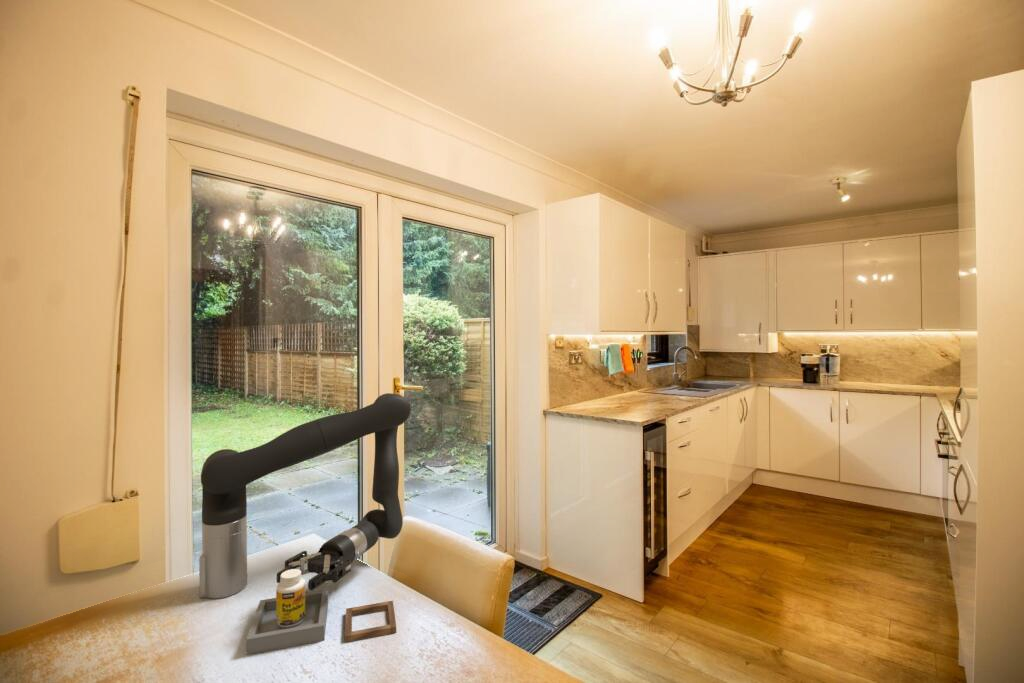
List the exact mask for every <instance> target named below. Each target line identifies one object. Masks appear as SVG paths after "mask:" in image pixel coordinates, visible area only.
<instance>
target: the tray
mask: <svg viewBox="0 0 1024 683" xmlns="http://www.w3.org/2000/svg"><path fill="white" fill-rule="evenodd" d="M328 608H329V589H323V590H317V591H311V592H305V618H304V620H303V621H302V622H301V623H299V624H298V625H296V626H293V627H289V628H282V627H280V626H278V625H277V622H276V597H273V598H267V599H261V600H259V603H258V605H257V609H256V611H255V614H254V616H253V619H252V622H251V625H250V627H249V631H248V633H247V636H246V639H245V655H246V656H248V655H253V654H258V653H263V652H270V651H273V650H280V649H285V648H290V647H291V648H292V647H295V646H301V645H300V644H302V645H306V643H307V644H311V643H316V642H322V641H323V642H324V641H325V638H326V628H327V627H326V626H327V618H328Z"/></svg>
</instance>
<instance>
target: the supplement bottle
mask: <svg viewBox="0 0 1024 683" xmlns="http://www.w3.org/2000/svg"><path fill="white" fill-rule="evenodd" d="M299 569H300V568H296V569H290V570H287V571H285V572H283V573H282V574H281V576H280V582H279V583H277V585H276V587H275V588H276V590H275V591H276V592H275V594H276V596H275V598H276V622H277V625H278V626H280V627H282V628H289V627H293V626H296V625H298V624H299V623H301V622H302V621H303V620H304V618H305V593H306V580H305V578H304V577H302V575H301V571H300V570H299Z"/></svg>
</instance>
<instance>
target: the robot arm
mask: <svg viewBox="0 0 1024 683" xmlns="http://www.w3.org/2000/svg"><path fill="white" fill-rule="evenodd" d="M411 410H412V406H411V403H410V401H408V399H407V398H406V397H404V396H403V395H402V394H398V393H391V392H389V393H383V394H381V395H379V396H378V397H377V398H376V399H375V401H374V402H373V403H371V404H369V405H366V406H364V407H362V408H359V409H357V410H352V411H347V412H342V413H341V412H340V413H337V414H336V413H335V414H331V415H326V416H323V417H319V418H315V419H314V420H311V421H308V422H305V423H301V424H300V425H297V426H294V427H293V428H290V429H288V430H287V431H285V432H283V433H282V434H280V435H279V436H277V437H275V438H273V439H271V440H269V441H268V442H266V443H264V444H262V445H259V446H257V447H253V448H250V449H246V450H243V451H240V452H239V451H237V450H235V449H231V448H230V449H229V448H226V449H225V448H224V449H220V450H217V451H214V452H213V453H211V454H210V455H209V456H208V457H207V458H206V459H205V461H203V462H204V463H203V465H202V468H201V473H200V483H201V485H202V489H201V492H202V493H201V495H202V501H201V502H202V503H201V541H202V543H201V544H202V545H201V546H202V547H201V549H202V550H201V552H202V554H201V555H200V556H199V564H198V565H199V566H198V567H199V599H200V598H201V599H202V598H206V599H222V598H226V597H227V598H228V597H231V596H233V595H235V594H237V593H239V592H241V591H243V590H244V589H245V588H246V587H247V585H248V542H247V541H248V539H247V538H248V530H247V529H248V528H247V520H248V519H247V515H248V514H247V510H248V509H247V506H248V502H247V499H248V498H247V485H249V484H251V483H253V482H254V481H257V480H259V479H261V478H263V477H265V476H267V475H269V474H270V475H271V474H272V473H274V472H278V471H280V470H283V469H286V468H289V467H293V466H295V465H298V464H300V463H304V462H305V461H309V460H311V459H314V458H317V457H319V456H322V455H325V454H327V453H330V452H332V451H334V450H337V449H339V448H341V447H343V446H346V445H347V444H350V443H353V442H355V441H356V440H358V439H360V438H363V437H365V436H367V435H371V434H374V459H373V460H374V463H373V476H372V488H371V489H372V490H371V496H372V497H371V498H372V500H373V502H376V503H377V504H380V505H381V506H382V508H383V509H378V508H377V509H372V510H369V511H368V512H366V514H365V515H364V516H363V517H362V519H361V520H360V521H359V522H358V523H357V524H356V525H354V526H353V527H351V528H349V529H347V530H344V531H342V532H340V533H339V534H337V535H336V536H334V537H332V538H331V539H329V540H327V541H325V542H324V543H323V544H322V545H321V547H319V549H318V551H317V552H315V553H312V554H310V555H309V554H308V551H307V550H302V551H301V552H299V553H297V554H295V555H294V556H291V557H290V558H288V559H286V560H285V561H284V568H283V569H281V570H280V571H278V572H277V573H276V584H278V583H279V582H280V576H281V574H282V573H283V572H285V571H287V570H290V569H299V570H300V571H301V576H302V575H303V576H304V575H307V574H311V573H312V574H316V575H314V576H313V577H311V578H310V579H309V580H308V583H307V587H308V588H307V589H308V590H309V591H311V592H313V591H314V590H315V589H317V588H319V587H320V586H322V585H323V584H327V583H329V582H330V581H331V583H332V584H336V583H338V582H340V580H341V579H343V578H344V577H346V576H347V574H349V573H350V572H351V571H352V563H354V562H355V561H356V560H358V559H359V558H360V557H361V556H362V555H364V553H366V552H367V551H369V550H370V549H372V548H373V547H374V546H375V545H376V544H377V542H378V541H379V538H383V539H387V540H388V539H389V540H390V539H392V540H393V539H395V538H397V537H398V536H399V535H400V533H401V531H402V529H403V523H404V521H403V520H404V519H403V515H402V514H403V513H402V510H401V504H400V499H399V484H400V463H399V457H398V456H399V455H398V444H397V442H398V441H397V438H398V429H399V426H401V425H403V424H404V423H405V422H407V420H408V419H409V417H410V415H411ZM306 563H307V564H306ZM305 564H306V565H307V568H305Z"/></svg>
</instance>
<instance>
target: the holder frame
mask: <svg viewBox="0 0 1024 683" xmlns="http://www.w3.org/2000/svg"><path fill="white" fill-rule="evenodd" d="M383 610H384V611H387V614H388V624H386V625H380V626H375V627H373V626H372V627H370V628H363V629H359V630H354V631H353V630H352V626H353V623H352V622H353V617H354V616H355V617H356V616H359V615H366V613H367V614H371V613H378V612H382V611H383ZM384 611H383V612H384ZM395 615H396V614H395V606H394V601H393V600H389V601H384V602H383V601H382V602H376V603H371V604H366V605H361V606H360V605H359V606H354V607H347V608H345V626H344V627H345V628H344V629H345V630H344V643H349V642H354V641H359V639H360V640H364V639H369V638H375V637H380V636H385V635H392V634H395V633H397V620H396V616H395Z"/></svg>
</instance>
